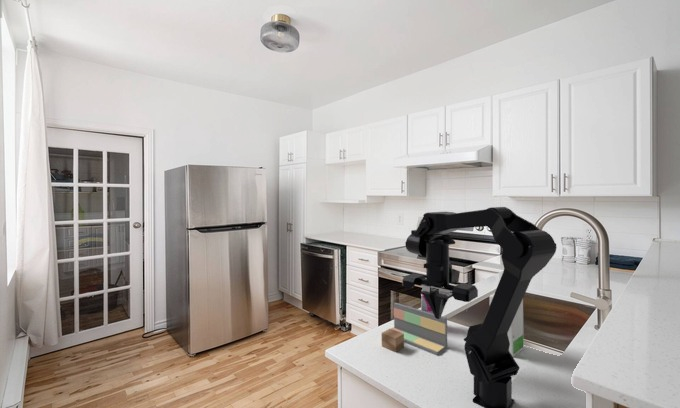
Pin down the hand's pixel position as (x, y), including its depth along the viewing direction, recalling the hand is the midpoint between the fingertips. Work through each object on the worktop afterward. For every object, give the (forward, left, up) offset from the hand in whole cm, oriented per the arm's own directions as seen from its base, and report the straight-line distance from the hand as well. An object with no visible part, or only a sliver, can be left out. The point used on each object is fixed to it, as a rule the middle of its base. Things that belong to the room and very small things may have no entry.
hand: (438, 318), depth 81 cm
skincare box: (-10, -20, -12) cm, 26 cm away
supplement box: (+13, -18, -12) cm, 25 cm away
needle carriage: (+14, +2, -12) cm, 18 cm away
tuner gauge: (+11, -6, -12) cm, 17 cm away
